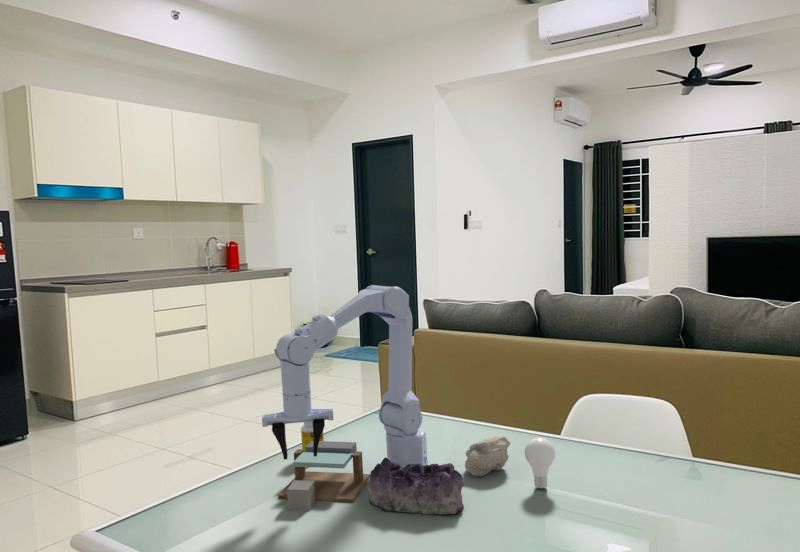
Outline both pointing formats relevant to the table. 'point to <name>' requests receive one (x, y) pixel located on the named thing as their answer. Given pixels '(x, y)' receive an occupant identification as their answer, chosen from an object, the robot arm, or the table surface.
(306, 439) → the supplement bottle
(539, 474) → the lightbulb
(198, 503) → the table surface
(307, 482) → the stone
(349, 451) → the trapdoor
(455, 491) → the geode
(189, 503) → the table surface
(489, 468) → the fossil replica
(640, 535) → the table surface
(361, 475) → the frame
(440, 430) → the table surface
